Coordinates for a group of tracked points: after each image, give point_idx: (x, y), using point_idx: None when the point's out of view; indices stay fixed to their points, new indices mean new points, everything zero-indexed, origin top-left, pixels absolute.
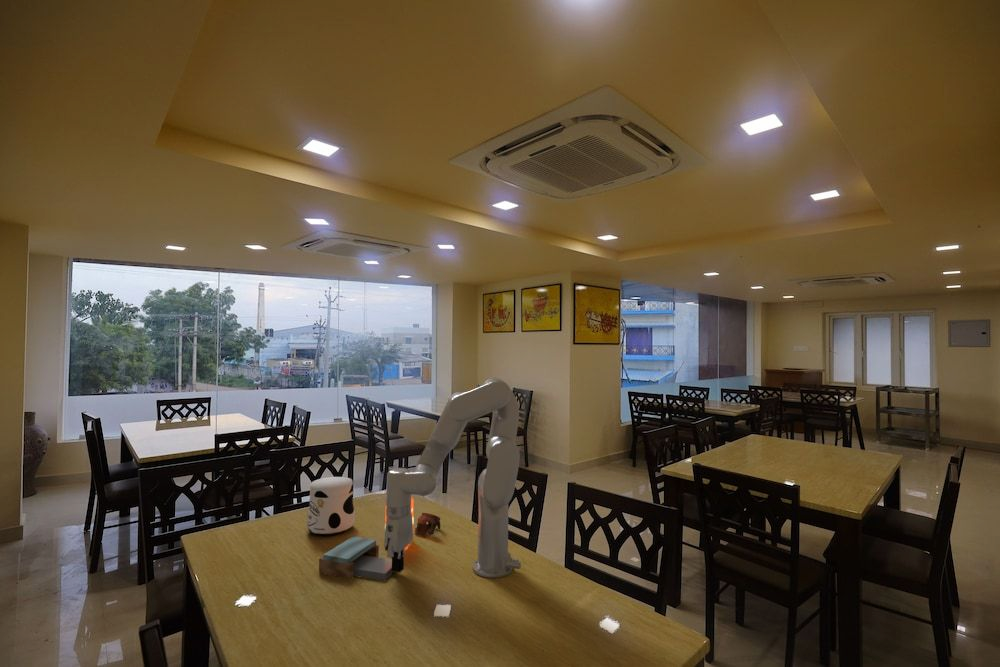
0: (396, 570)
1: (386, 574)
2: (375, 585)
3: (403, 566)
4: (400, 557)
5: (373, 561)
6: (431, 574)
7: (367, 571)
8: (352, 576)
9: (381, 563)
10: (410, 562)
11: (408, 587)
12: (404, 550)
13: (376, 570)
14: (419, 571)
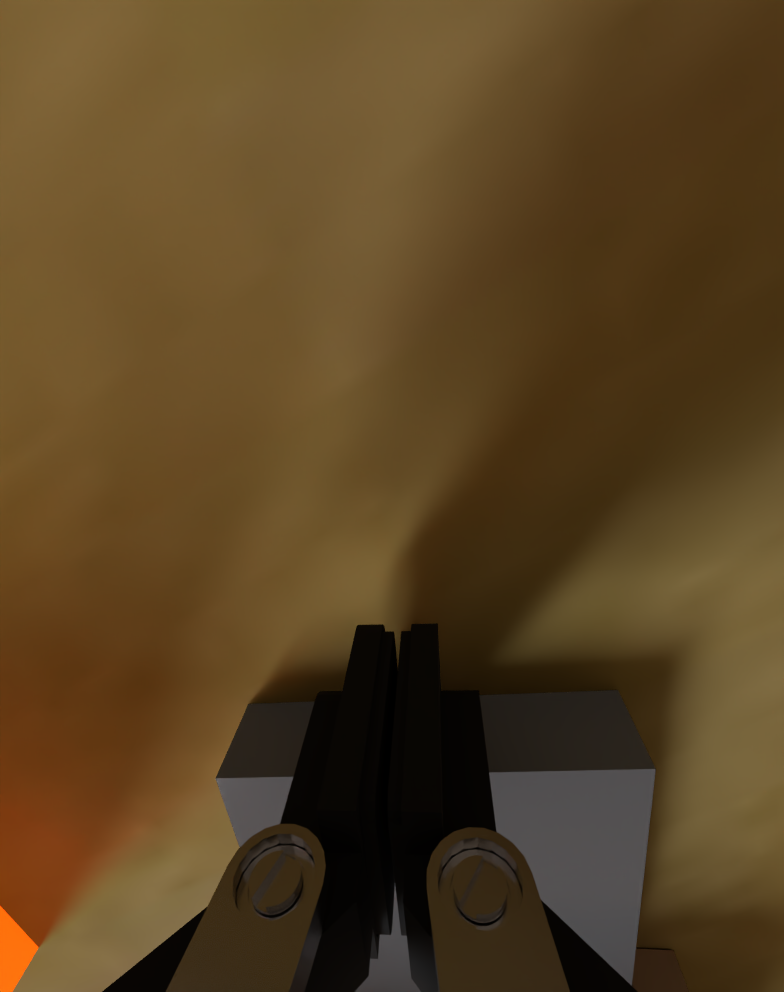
0: (440, 686)
1: (597, 741)
2: (765, 723)
3: (353, 652)
4: (444, 859)
5: (392, 976)
6: (172, 149)
7: (634, 937)
8: (645, 961)
9: (397, 904)
10: (75, 649)
11: (747, 287)
12: (205, 976)
13: (598, 881)
14: (200, 416)
